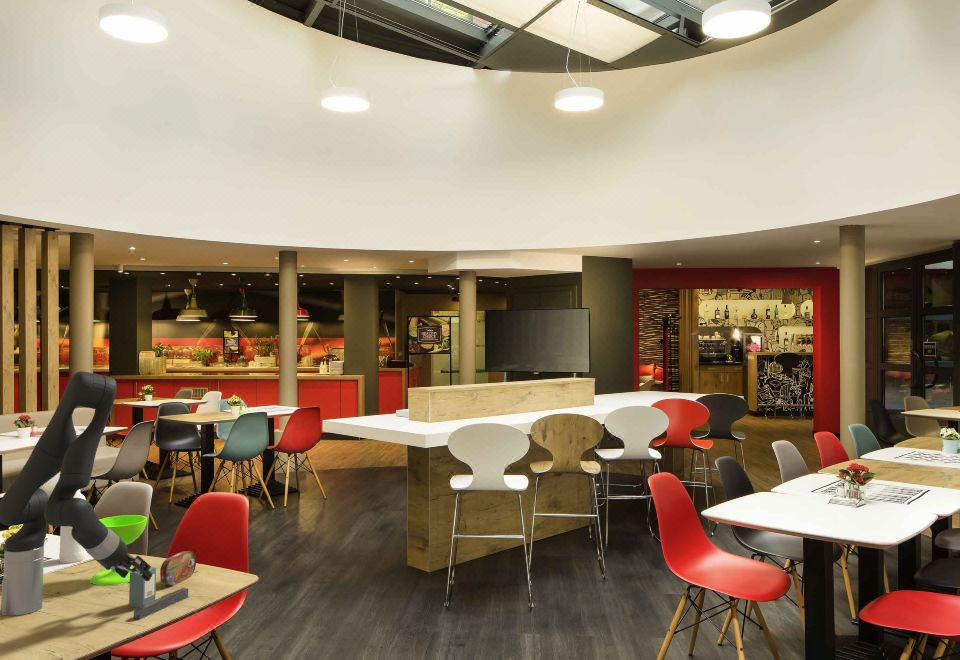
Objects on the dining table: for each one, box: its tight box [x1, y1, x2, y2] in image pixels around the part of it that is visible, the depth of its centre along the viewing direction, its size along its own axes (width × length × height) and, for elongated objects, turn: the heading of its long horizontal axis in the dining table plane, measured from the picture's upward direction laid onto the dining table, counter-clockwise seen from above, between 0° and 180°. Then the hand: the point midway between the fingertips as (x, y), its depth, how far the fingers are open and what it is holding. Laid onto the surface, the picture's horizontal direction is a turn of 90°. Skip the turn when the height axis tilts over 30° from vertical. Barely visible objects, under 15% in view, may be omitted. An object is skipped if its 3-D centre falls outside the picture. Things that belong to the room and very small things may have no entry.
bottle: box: [59, 489, 87, 564], centre depth 236 cm, size 8×8×30 cm
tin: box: [159, 550, 197, 586], centre depth 214 cm, size 15×3×8 cm, turn 168°
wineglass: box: [89, 514, 148, 586], centre depth 217 cm, size 16×16×18 cm
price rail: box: [133, 587, 189, 620], centre depth 191 cm, size 18×3×2 cm, turn 161°
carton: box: [128, 566, 157, 608], centre depth 193 cm, size 5×4×10 cm
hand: (137, 576), depth 192 cm, fingers open, 8 cm apart
